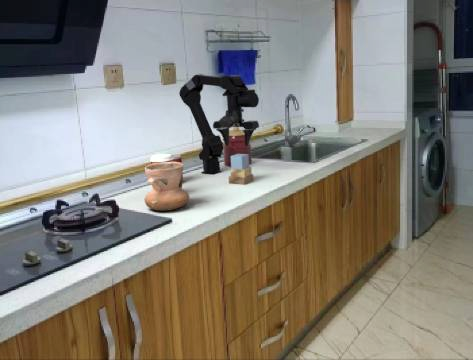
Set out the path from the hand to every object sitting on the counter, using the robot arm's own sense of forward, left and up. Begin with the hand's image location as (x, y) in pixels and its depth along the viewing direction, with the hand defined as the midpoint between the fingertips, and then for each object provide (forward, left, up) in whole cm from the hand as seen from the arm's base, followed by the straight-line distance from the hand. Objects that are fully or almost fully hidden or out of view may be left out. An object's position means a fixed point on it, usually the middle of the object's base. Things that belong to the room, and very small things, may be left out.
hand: (236, 145), depth 201 cm
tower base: (+7, -9, -13) cm, 17 cm away
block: (+7, -9, -7) cm, 13 cm away
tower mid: (+7, -9, -10) cm, 15 cm away
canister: (-14, +22, -13) cm, 29 cm away
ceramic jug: (+3, -48, -13) cm, 50 cm away
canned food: (-18, -20, -13) cm, 30 cm away
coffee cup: (-7, -38, -13) cm, 41 cm away
